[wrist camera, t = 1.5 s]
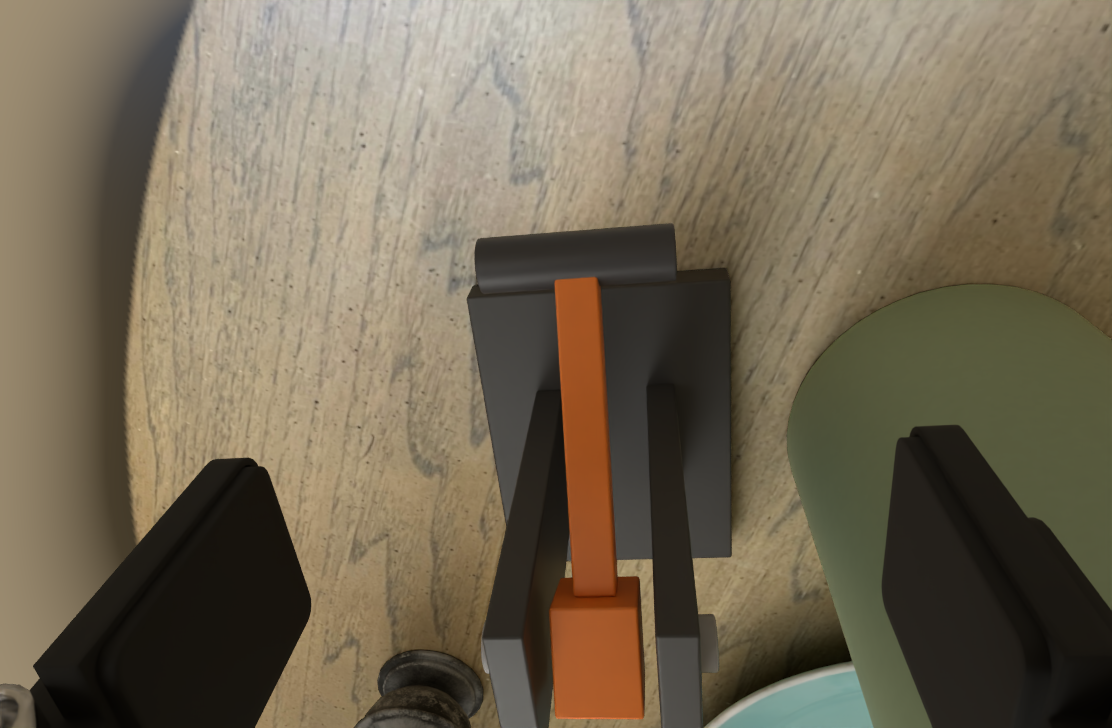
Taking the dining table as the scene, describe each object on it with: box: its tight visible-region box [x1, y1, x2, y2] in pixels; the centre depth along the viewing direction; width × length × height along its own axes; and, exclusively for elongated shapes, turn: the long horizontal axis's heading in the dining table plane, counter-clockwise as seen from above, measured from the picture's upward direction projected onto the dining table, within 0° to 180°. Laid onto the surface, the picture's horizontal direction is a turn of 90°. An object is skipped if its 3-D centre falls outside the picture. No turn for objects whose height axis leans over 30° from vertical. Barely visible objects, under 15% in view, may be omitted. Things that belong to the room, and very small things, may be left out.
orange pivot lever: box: [475, 223, 677, 719], centre depth 20 cm, size 12×5×2 cm, turn 7°
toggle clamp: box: [467, 268, 732, 728], centre depth 24 cm, size 12×9×13 cm
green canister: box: [787, 284, 1112, 728], centre depth 20 cm, size 12×13×18 cm
